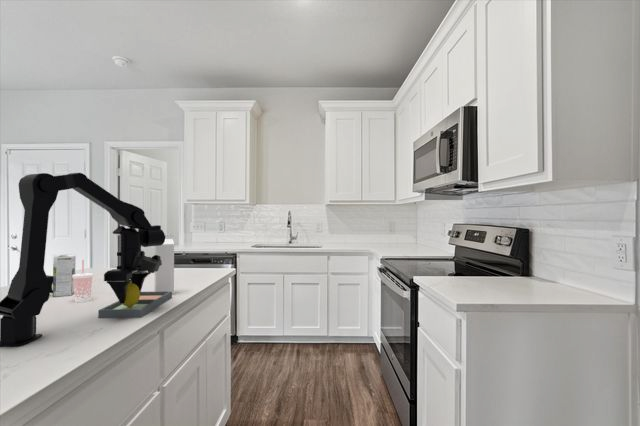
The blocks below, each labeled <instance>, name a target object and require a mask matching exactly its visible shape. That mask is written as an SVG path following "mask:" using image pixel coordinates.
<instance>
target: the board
mask: <svg viewBox="0 0 640 426" xmlns="http://www.w3.org/2000/svg"><path fill="white" fill-rule="evenodd" d="M172 298H173V295H172V291H162V292H155V291H141V292H140V298H139V301H138V302H137V303H136V304H135V305H133V306H132V307H131V308H128V307H127V306H124V305H123V304H122V303H120V301H119V300H117V301H115V302H113V303H111V304H109V305H107V306H105V307H102V308H100V309H98V312H97V313H98V314H97V316H98V319H116V318H117V319H120V318H121V319H122V318H123V319H125V318H126V319H129V318H143V317H145V316H147V314H149V313H150V312H152V311H153V310H155V309H156V308H159V306H161V305H163V304H164V303H166V302H167V301H169V300H170V299H172Z"/></svg>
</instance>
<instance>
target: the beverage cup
mask: <svg viewBox="0 0 640 426" xmlns="http://www.w3.org/2000/svg"><path fill="white" fill-rule="evenodd" d="M84 265H85V260H84V259H82V261H81V270H82V271H81V273H75V274H74V275H72V278H73V283H74V293H73V294H74V295H73V297H74V302H75V303H85V302H89V301H92V300H91V299H92V290H93V289H92V286H93V285H92V284H93V277H94V273H92V272H85V267H84Z"/></svg>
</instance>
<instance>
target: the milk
mask: <svg viewBox="0 0 640 426" xmlns="http://www.w3.org/2000/svg"><path fill="white" fill-rule="evenodd" d="M164 235H165V242H164V243H163V244H162V245H160V246H154V255H158V256H160V258H161V261H162V262H161V263H162V265H161V266H159V269H158V271H156V272H154V292H162V291H172V296H173V295H175V242H174V234H164Z"/></svg>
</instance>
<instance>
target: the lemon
mask: <svg viewBox="0 0 640 426" xmlns="http://www.w3.org/2000/svg"><path fill="white" fill-rule="evenodd" d="M139 298H140V291H139V288H138V286H137V285H136V284H134V283H131V282H130V283H129V284H128V285H127V292H126V299H125V303H122V304H123V305H124V306H127V307H128V308H131V307H132V306H133V305H135V304H136V303H137V302H138V301H139Z"/></svg>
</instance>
